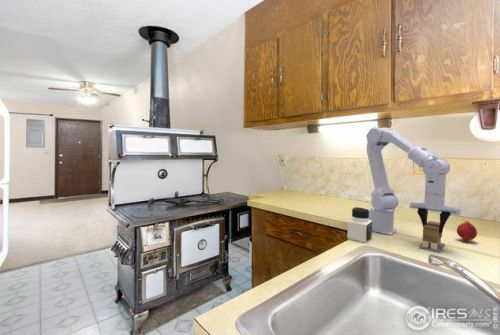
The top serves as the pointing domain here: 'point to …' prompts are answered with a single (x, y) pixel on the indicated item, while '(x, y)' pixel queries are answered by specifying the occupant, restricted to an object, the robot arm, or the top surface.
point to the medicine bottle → (360, 225)
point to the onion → (467, 231)
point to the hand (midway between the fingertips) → (432, 231)
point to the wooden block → (431, 232)
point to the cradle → (432, 246)
